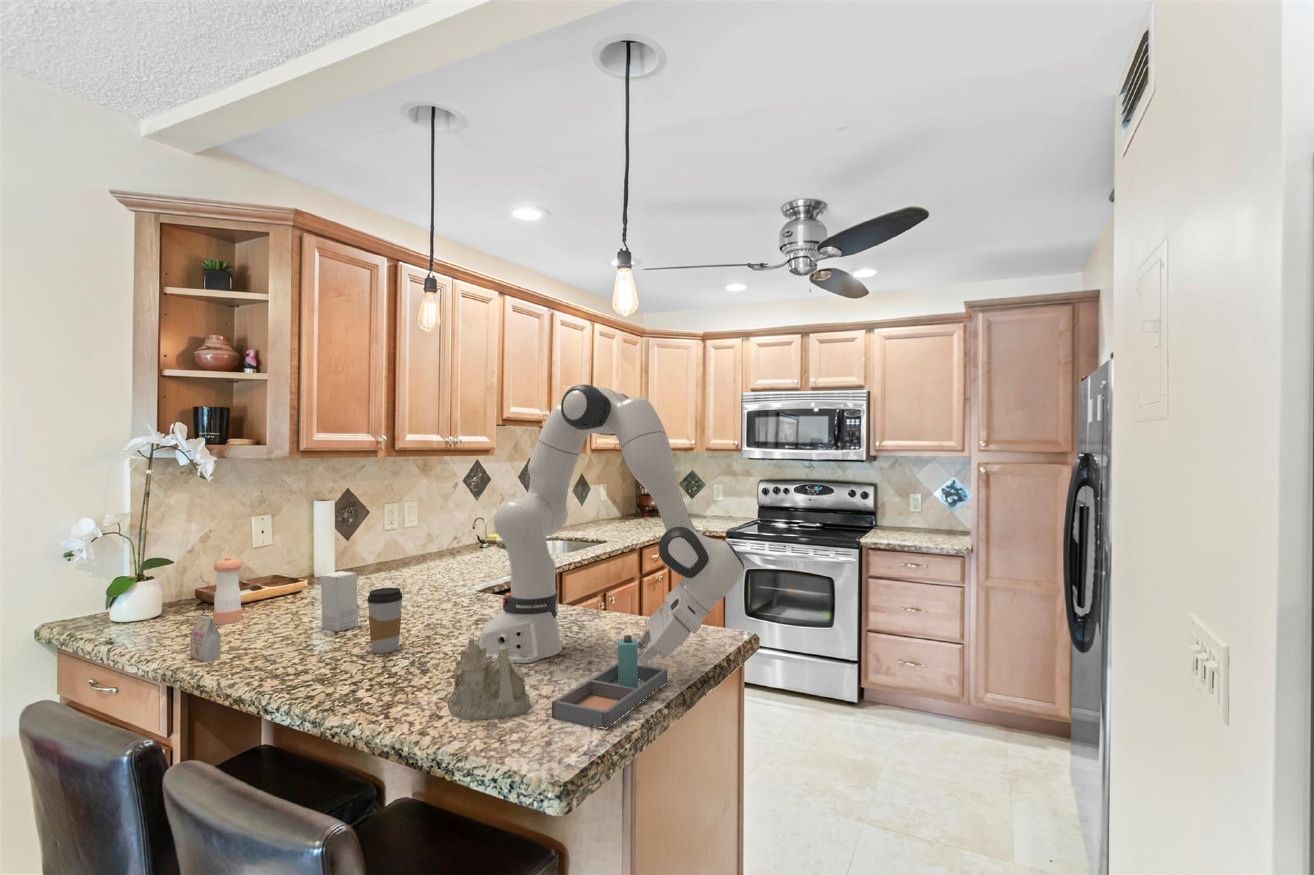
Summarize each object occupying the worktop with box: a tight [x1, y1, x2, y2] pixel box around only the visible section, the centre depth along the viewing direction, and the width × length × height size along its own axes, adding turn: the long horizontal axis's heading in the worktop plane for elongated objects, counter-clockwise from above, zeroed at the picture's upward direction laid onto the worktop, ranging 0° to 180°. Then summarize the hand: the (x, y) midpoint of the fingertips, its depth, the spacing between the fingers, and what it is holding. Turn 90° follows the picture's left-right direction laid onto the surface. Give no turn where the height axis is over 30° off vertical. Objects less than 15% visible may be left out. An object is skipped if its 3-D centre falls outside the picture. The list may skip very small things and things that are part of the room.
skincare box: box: [320, 570, 359, 632], centre depth 183 cm, size 8×7×16 cm
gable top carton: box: [190, 615, 221, 663], centre depth 157 cm, size 4×7×10 cm, turn 58°
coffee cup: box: [366, 587, 403, 655], centre depth 162 cm, size 8×8×15 cm
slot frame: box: [551, 662, 668, 728], centre depth 129 cm, size 25×12×3 cm, turn 153°
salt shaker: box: [212, 556, 243, 625], centre depth 191 cm, size 7×7×19 cm
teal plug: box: [617, 634, 639, 688], centre depth 134 cm, size 4×4×11 cm
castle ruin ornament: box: [447, 637, 531, 721], centre depth 128 cm, size 16×16×15 cm
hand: (639, 654), depth 134 cm, fingers open, 8 cm apart
